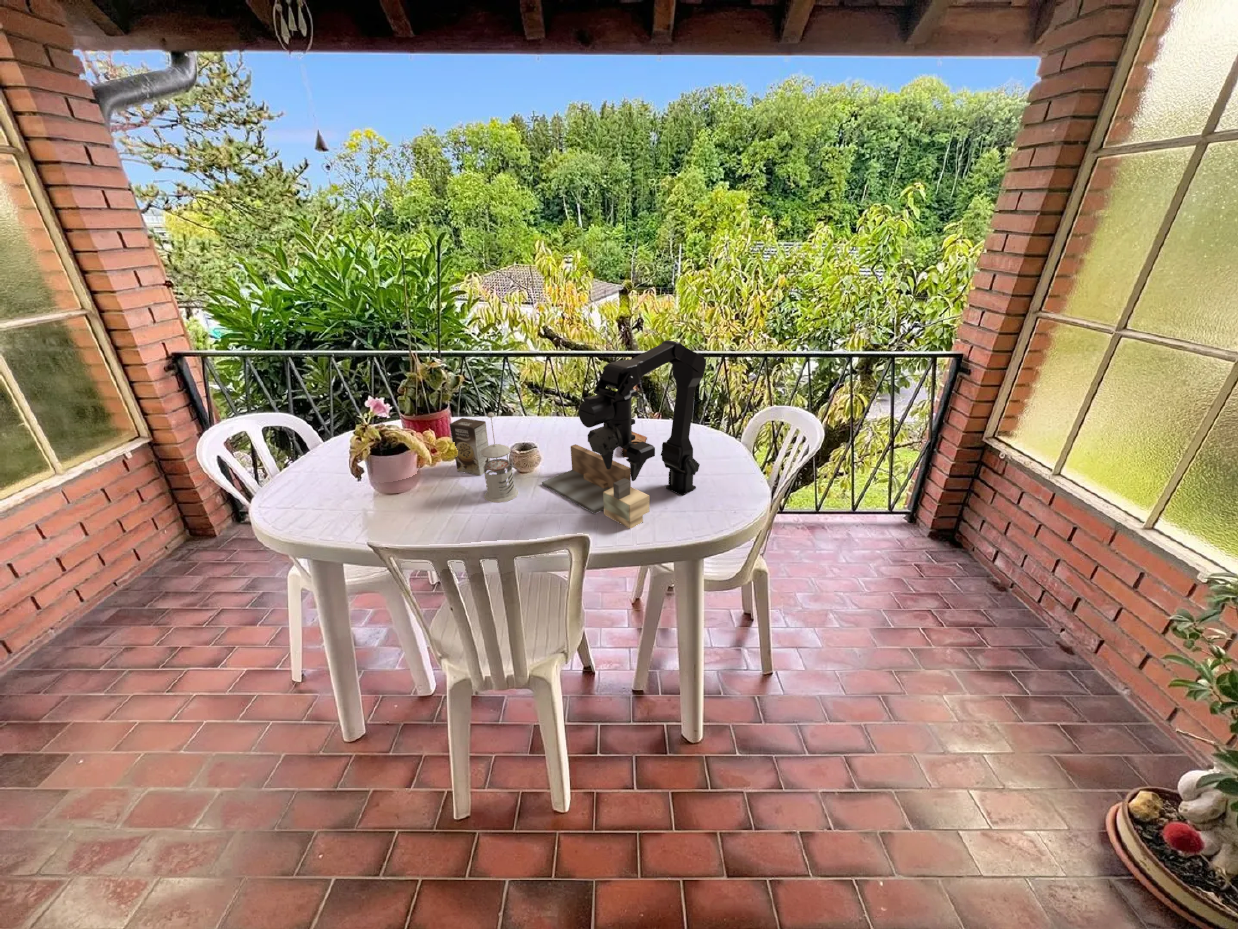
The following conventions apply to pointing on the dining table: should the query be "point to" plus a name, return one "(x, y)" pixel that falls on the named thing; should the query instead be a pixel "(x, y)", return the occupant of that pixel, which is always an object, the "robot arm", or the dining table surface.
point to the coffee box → (470, 445)
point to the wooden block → (625, 503)
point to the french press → (498, 473)
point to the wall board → (587, 479)
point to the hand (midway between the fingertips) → (620, 474)
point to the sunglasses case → (635, 442)
